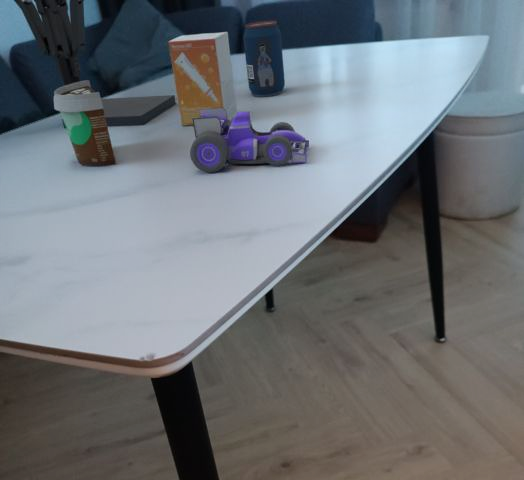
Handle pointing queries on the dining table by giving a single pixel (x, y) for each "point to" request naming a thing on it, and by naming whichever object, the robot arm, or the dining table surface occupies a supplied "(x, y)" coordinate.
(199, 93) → the small box
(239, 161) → the toy race car
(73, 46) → the robot arm
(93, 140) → the food container
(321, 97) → the dining table surface
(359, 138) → the dining table surface
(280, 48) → the soda can
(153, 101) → the scale
